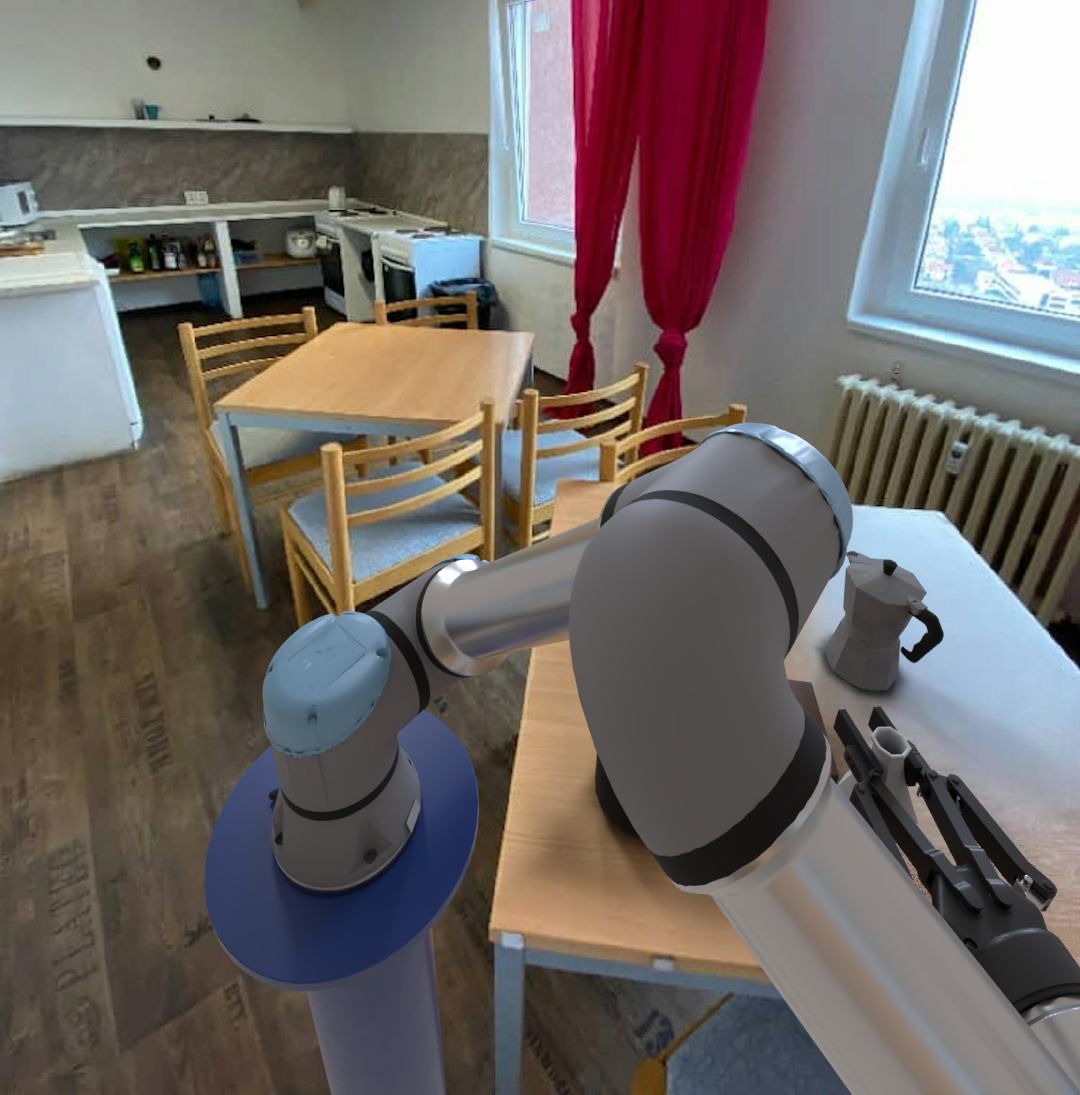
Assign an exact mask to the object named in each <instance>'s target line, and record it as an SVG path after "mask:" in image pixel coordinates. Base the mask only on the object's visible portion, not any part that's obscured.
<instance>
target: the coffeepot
mask: <svg viewBox="0 0 1080 1095" xmlns="http://www.w3.org/2000/svg"><path fill="white" fill-rule="evenodd" d="M845 557H847V558H848V559H847V560H848V564H849V565H848V566H847V567H846V568H845V574H844V588H843V590H844V591H843V602H842V609H843V611H844V616H843V617H842V618H841V620H840V621H839V623H838V625H837V627H836V628H835V630H834V632H833V634H832V636H831V638H830V639H829V641H828V642H827V644H826V646H825V648H824V650H823V651H824V653H825V657H826V659H827V662H828V664H829V666H830V668H831V669H832V671H833V672H834V673H835V674H836V675H837V676H838V677H839V678H841V679H842V680H844V681H845V682H847V683H848V684H850V685H851V686H854V687H856V688H858V689H861V690H865V691H871V692H881V691H888V690H889V689H890V687H891V686H892V685H893V683H894V682H895V681H896V680H897V679H898V677H899V667H900V666H899V664H900V663H899V662H900V652H901V654H902V655H903V656H904V658H905V659H906V660H907V661H909V662H910V663H912V664H917V663H919V661H921V660H922V659H923V658H924V657H925V656H926V655H928V654H929V653H930V652H931V651H932V650H934V648H936V647H937V646H939V644H941V643H942V642H943V640H944V637H945V633H944V629H943V627H942V625H941V621H940V619H939V616H937V615H936V613H934V612H932V611H931V610H929V609H928V608H929V607H928V606H927V605H926V604H925V603H924V602H922V601H923V600H924V598H925V596H926V595H927V593H928V592H927V591H926V589H925V587H923V585H922V584H921V582H920V581H919V579H918V578H917V576H916V575H915V573H913V572H911V571H909V570H907V569H906V568H904V567H901V566H899V565H898V563H897V562H896V561H894V560H893V559H889V558H885V559H884V558H871V557H869V556H867V555H865V554H863V553H861V552H857V551H855V550H850V551H846V556H845ZM912 618H915V619H916V620H918V621H919V622H921V623H922V624H923V625H924V626H925V627H926V631H927V632H925V633H924V634H923V635H922V637H921V638H920V640H919V641H918V642H915V644H913V646H912V650H911V651H910V650H909V649H907V648H905V646H901V639H900V636H901V635H902V634H903V633H904V631H905V629H906V628H907V627H908V625H909V623H910V621H911V620H912Z"/></svg>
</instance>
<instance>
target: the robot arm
mask: <svg viewBox="0 0 1080 1095" xmlns="http://www.w3.org/2000/svg"><path fill="white" fill-rule="evenodd" d="M599 513H600V514H599V516H598V517H596V518H593V519H591V520H588V521H586V522H584V523H582V524H579V525H577V526H574V527H572V528H570V529H567V530H565V531H562V532H560V533H557V534H555V535H553V536H551V537H547V538H545V539H543V540H541V541H539V542H536V543H534V544H531V545H528V546H526V547H524V548H522V549H519V550H517V551H515V552H512V553H509V554H507V555H505V556H502V557H500V558H498V559H495V560H493V561H491V562H490V561H488V560H486V559H483V560H481V558H480V557H479V556H478V555H475V554H470V553H459V554H456V555H452V556H451V557H449V558H445V559H442V560H440V561H438V562H437V563H435V564H434V565H433V566H431V567H430V568H429V569H428V570H427V571H426V572H425V573H423V574H422V575H419V576H418V577H417V578H416V579H414V580H412V581H411V582H410V583H408V584H406V585H405V586H404V587H403V588H401V589H399V590H398V591H396V592H395V593H394V594H392V595H391V596H389V597H387V598H386V599H384V600H383V601H381V602H380V603H378V604H377V605H376V606H374V607H373V608H371V609H369V610H368V611H367V612H365V613H363V612H359V611H351V610H347V611H342V612H341V613H340V614H339V616H335V615H334V613H328V614H325V615H321V616H320V617H318V618H316V619H313V620H311V621H309V622H308V623H306V624H304V625H303V626H301V627H300V628H298V629H297V630H296V631H294V633H293V634H291V635H290V636H289V637H288V638H286V640H285V641H284V642H283V644H282V645H280V647H279V648H278V649H277V651H276V652H275V653H274V655H273V657H272V659H271V660H270V662H269V665H268V667H267V669H266V672H265V677H264V680H263V683H262V684H263V685H262V703H263V716H262V718H263V719H262V720H263V727H264V732H265V734H266V737H267V738H268V741H269V742H270V746H271V747H272V752H273V756H274V761H275V765H276V770H277V774H278V779H279V783H280V788H278V789H275V790H273V791H271V792H270V793H269V798H270V799H271V800H273V799H276V798H277V799H276V803H275V807H274V811H273V815H272V824H271V843H272V848H273V852H274V857H275V860H276V863H277V866H278V868H279V870H280V872H281V874H282V875H283V877H284V878H285V879H286V880H287V881H288V882H289V883H290V884H291V885H292V886H293V887H294V888H296V889H298V890H299V891H301V892H304V893H306V894H309V895H312V896H318V897H337V896H342V895H347V894H350V893H353V892H356V891H358V890H361V889H363V888H364V887H366V886H368V885H370V884H372V883H373V882H375V881H376V880H378V879H379V878H380V877H382V876H383V875H384V874H385V873H386V872H387V871H389V870H390V869H391V868H392V867H393V865H394V864H395V863H396V862H397V861H398V860H399V858H400V857H401V856H402V855H403V853H404V852H405V850H406V849H407V847H408V845H409V843H410V842H411V840H412V837H413V835H414V833H415V830H416V828H417V824H418V821H419V816H420V809H421V794H420V783H419V778H418V775H417V772H416V769H415V767H414V764H413V762H412V761H411V759H410V757H409V756H408V755H407V753H406V752H405V751H404V750H403V749H402V748H401V747H400V745H399V742H398V735H397V734H398V732H399V731H400V730H401V729H403V728H404V727H405V726H406V725H407V724H408V723H410V722H411V721H412V720H413V719H414V718H415V717H416V716H417V715H418V714H420V713H421V712H422V711H423V710H424V711H425V710H426V709H427V708H428V706H430V705H431V704H433V702H434V701H436V699H437V698H439V697H440V696H441V695H442V694H444V693H445V692H446V691H447V690H448V689H449V688H450V687H451V686H453V685H454V684H456V683H457V682H458V681H461V680H463V679H468V678H475V677H479V676H483V675H487V674H488V673H490V672H493V671H494V670H496V669H497V668H499V667H500V666H501V665H502V664H503V662H505V661H506V659H507V658H508V657H509V655H510V653H515V652H519V651H524V650H529V649H534V648H537V647H542V646H547V645H551V644H557V643H562V642H567V641H569V650H570V658H571V664H572V670H573V675H574V681H575V685H576V689H577V694H578V699H579V702H580V706H581V709H582V712H583V715H584V718H585V721H586V722H585V723H586V725H587V727H588V728H587V729H588V731H589V734H590V737H591V740H592V743H593V746H594V750H595V751H596V755H597V754H598V756H599V758H600V761H601V763H602V765H603V767H604V770H605V772H606V774H607V777H608V779H609V781H610V784H611V786H612V788H613V790H614V793H615V795H616V797H617V798H618V800H619V802H620V804H621V806H622V807H623V809H624V811H625V813H626V815H627V816H628V818H629V820H630V822H631V823H632V825H633V827H634V829H635V830H636V832H637V833H638V835H639V836H640V838H641V839H640V840H641V841H642V842H643V843H644V846H646V848H647V849H648V851H649V852H650V853H651V855H652V857H653V858H654V860H656V862H657V863H658V865H659V867H660V868H661V870H662V871H663V872H664V874H665V875H666V877H667V878H668V879H669V880H670V881H671V883H672V885H674V887H676V888H677V889H679V890H681V891H683V892H685V893H689V894H695V895H709V896H710V897H711V899H712V900H713V901H714V903H715V904H716V906H717V907H718V908H719V910H720V911H721V912H722V914H723V916H724V917H725V918H726V920H727V921H728V922H729V924H730V926H731V927H732V928H733V930H734V931H735V932H736V934H737V935H738V937H739V938H740V940H742V942H743V943H744V945H745V946H746V948H747V949H748V951H750V954H751V955H752V956H753V958H754V959H755V960H756V962H757V963H758V965H759V966H760V967H761V969H762V970H763V972H764V974H766V976H767V977H768V978H769V980H770V982H771V983H772V984H773V986H774V988H775V989H776V990H777V991H778V992H779V994H780V995H781V997H782V998H783V1000H784V1001H785V1003H786V1005H788V1007H789V1008H790V1010H791V1012H793V1014H794V1015H795V1017H796V1018H797V1020H798V1021H799V1023H800V1024H801V1025H802V1026H803V1028H804V1029H805V1031H806V1032H807V1034H808V1035H809V1037H810V1038H811V1039H812V1041H813V1042H814V1044H815V1045H816V1046H817V1047H818V1049H819V1051H820V1052H821V1053H822V1055H823V1056H824V1057H825V1059H826V1061H827V1062H828V1063H829V1064H830V1065H831V1067H832V1069H833V1071H834V1072H835V1073H836V1075H837V1076H838V1078H840V1080H841V1082H842V1083H843V1084H844V1086H845V1087H846V1088H847V1090H848V1091H849V1092H850V1094H851V1095H1080V965H1079V964H1078V961H1076V959H1075V958H1074V957H1073V955H1072V954H1071V952H1069V950H1068V948H1067V947H1066V946H1065V944H1064V943H1063V941H1062V940H1061V939H1060V937H1058V935H1056V934H1055V933H1053V932H1052V931H1050V930H1049V929H1048V927H1047V924H1046V921H1045V917H1044V915H1043V914H1042V912H1046V911H1047V910H1048V909H1049V907H1050V905H1051V903H1052V902H1053V900H1054V899H1055V897H1056V896H1057V894H1058V887H1057V886H1056V884H1055V883H1054V882H1053V881H1052V880H1051V879H1050V878H1048V877H1047V876H1046V875H1045V874H1044V873H1043V872H1041V871H1040V870H1039V869H1038V868H1037V867H1036V866H1035V865H1033V864H1032V863H1031V862H1030V861H1029V860H1028V859H1027V858H1026V857H1025V855H1024V854H1023V853H1022V851H1020V850H1019V848H1018V847H1017V846H1016V844H1015V843H1014V842H1013V841H1012V840H1011V838H1010V837H1009V836H1008V835H1007V833H1006V832H1005V831H1004V829H1002V827H1001V826H1000V825H999V824H998V823H997V821H996V820H995V819H994V818H993V816H992V815H991V814H990V813H989V812H988V810H987V809H986V808H985V807H984V805H983V804H982V803H981V802H980V800H979V799H978V798H977V796H975V794H974V793H973V792H972V791H971V789H970V788H969V787H968V786H967V784H966V783H965V782H964V780H962V778H961V777H960V776H958V775H956V774H954V773H949V774H948V776H947V775H942V774H939V773H938V772H937V771H936V770H935V769H932V768H931V767H930V765H929V764H928V763H927V761H926V760H925V758H924V757H923V755H922V754H921V752H920V751H919V750H918V749H917V746H916V745H915V744H914V743H913V742H912V741H911V740H909V739H906V740H907V742H908V743H909V745H910V747H911V748H912V749H911V751H910V752H909V754H908V755H907V757H906V758H905V760H904V775H905V783H906V784H907V787H908V788H909V787H910V788H911V787H916V786H917V785H918V788H917V790H916V797H920V798H921V797H922V799H923V801H924V803H925V805H926V807H927V809H928V811H929V813H930V815H931V817H932V819H933V821H934V822H935V826H936V827H937V829H938V831H939V833H940V835H941V837H942V839H943V841H944V843H945V845H946V846H947V849H948V851H949V853H950V854H951V856H952V858H953V860H954V863H955V865H954V864H953V863H952V862H951V861H950V860H949V858H948V857H947V856H946V854H944V852H943V851H942V850H939V849H937V848H936V847H935V846H934V845H933V844H932V842H931V841H930V840H929V838H928V837H927V836H926V835H925V833H923V831H922V829H921V828H920V827H919V826H918V825H917V824H916V823H915V822H914V821H913V820H912V818H911V817H910V816H909V814H908V813H907V812H906V811H905V809H904V808H903V807H902V805H901V804H900V803H899V802H898V800H897V799H896V798H895V796H894V795H893V794H892V793H891V791H890V790H889V789H888V788H887V786H886V785H885V784H884V782H883V781H882V780H881V778H882V776H883V773H884V770H883V768H882V766H881V765H880V763H879V762H878V760H877V758H876V757H875V755H874V754H873V752H872V750H871V747H870V746H869V744H868V743H867V741H866V739H865V737H864V736H863V734H862V733H861V731H860V730H859V729H858V727H857V725H856V724H855V721H853V719H852V717H851V715H850V714H849V713H848V710H847V709H846V708H839V709H838V710H837V713H836V717H835V719H834V722H833V726H832V728H833V731H834V732H835V733H836V736H837V737H838V739H839V740H840V742H841V744H842V746H843V747H844V750H845V751H844V753H843V758H844V761H845V764H846V765H847V767H848V769H849V770H851V772H852V774H853V775H854V777H855V779H856V781H857V782H858V783H855V784H854V787H853V790H852V793H851V796H850V799H848V798H847V797H846V796H845V794H844V793H843V792H842V791H841V789H840V788H839V787H838V786H837V785H838V783H837V784H836V783H835V782H834V781H833V779H832V778H831V750H832V747H831V748H830V746H831V743H830V741H829V742H828V740H829V739H828V740H827V738H826V736H825V735H824V734H823V733H822V731H821V730H820V729H819V727H818V726H817V725H816V724H815V723H814V721H813V720H812V719H811V718H810V716H809V715H808V714H807V713H806V712H805V710H804V709H803V708H802V707H801V705H800V704H799V703H798V701H797V700H796V698H795V696H794V694H793V692H792V690H791V688H790V686H789V682H788V679H789V678H788V676H787V672H786V666H785V665H786V664H785V660H786V658H787V656H788V655H789V653H790V652H791V651H792V648H793V646H794V645H795V643H796V641H797V639H798V638H799V636H800V634H801V632H802V630H803V628H804V627H805V625H806V623H807V621H808V619H809V617H810V616H811V614H812V612H813V610H814V608H815V606H816V604H817V603H818V602H819V600H820V597H821V595H822V594H823V593H824V590H825V588H826V587H827V585H828V583H829V581H830V580H832V579H833V578H835V576H836V575H838V573H839V572H840V571H841V568H842V567H843V565H844V563H845V561H846V557H847V556H846V552H848V551H847V550H848V546H849V543H850V540H851V538H852V537H851V536H852V533H853V526H854V513H853V506H852V503H851V499H850V495H849V493H848V489H847V488H846V486H845V484H844V482H843V480H842V478H841V476H840V474H839V473H838V472H837V470H836V469H835V467H834V466H833V465H832V464H831V462H830V461H829V460H828V459H827V458H826V456H824V454H822V453H821V452H820V451H819V450H818V449H817V448H815V446H813V445H812V444H811V443H809V442H808V441H806V440H805V439H803V438H802V437H800V436H798V435H797V434H793V433H791V432H789V431H786V430H784V429H781V428H779V427H778V426H776V425H772V424H767V423H762V422H741V423H735V424H732V425H729V426H727V427H724V428H722V429H718V430H715V431H713V432H711V433H710V434H708V435H706V436H705V437H704V438H703V439H702V440H701V442H700V443H699V444H698V446H697V447H696V448H694V449H693V450H692V451H690V452H688V453H686V454H685V455H683V456H681V457H680V458H678V459H676V460H673V461H671V462H670V463H667V464H665V465H663V466H660V467H659V468H656V469H654V470H652V471H650V472H648V473H646V474H643V475H641V476H639V477H637V478H635V479H633V480H630V481H628V482H626V483H624V484H622V485H620V486H619V487H617V488H615V490H613V492H611V493H610V494H609V496H608V497H607V499H606V500H605V502H604V504H603V506H602V508H601V510H600V512H599ZM867 726H868V727H869V729H870V730H871V732H872V733H873V732H874V731H875V730H876V728H877V727H892V728H893V729H895V730H896V731H898V729H897V728H896V726H895V725H894V724H893V722H892V720H891V719H890V718H889V716H888V715H887V713H886V712H885V711H884V709H883V708H882V706H879V705H878V706H873V708H872V710H871V713H870V717H869V720H868V723H867ZM829 743H830V744H829ZM894 840H895V841H894ZM895 842H896V843H895ZM900 850H901V851H902V853H903V854H904V856H905V857H906V859H907V860H908V861H909V862H910V864H911V865H912V866H913V868H914V869H915V871H916V873H917V878H918V880H919V881H920V883H921V884H922V887H924V888H925V890H926V892H927V893H928V894H929V895H930V897H931V900H929V898H928V897H927V896H926V895H925V893H924V892H923V890H922V889H921V888H920V887H919V886H918V884H917V883H916V882H915V881H914V879H913V875H912V874H911V873H912V872H911V871H910V869H909V867H908V865H907V863H906V861H905V858H904V857H903V855H902V853H901V851H900ZM997 871H998V872H997ZM998 873H1000V875H1001V876H1002V877H1003V879H1004V880H1003V879H1002V878H1000V875H999V874H998Z"/></svg>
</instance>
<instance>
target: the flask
mask: <svg viewBox="0 0 1080 1095" xmlns="http://www.w3.org/2000/svg"><path fill="white" fill-rule="evenodd" d="M870 740H871V742H872V745H871V747H870V749H871V750H872V752H873V754H874V755H875V757H876V758H877V760H878V762H879V763H880V765H881V766H882V768H883V770H884V773H883V776H882V778H881V780H882V781H883V782H884V784H885V785H886V786H887V788H888V789H889V790H890V791H891V793H892V794H893V795H894V796H895V798H896V799H897V800H898V802H899V803H900V804H901V805H902V807H903V808H904V809H905V811H906V812H907V813H908V814H909V816H910V817H911V818H912V820H913V821H914V822H915V823H916V825H917V824H918V823H919V822H918V817H917V815H916V812H915V807H914V805H913V802H912V799H911V795H910V792H909V787H908V786H907V784H906V783H905V775H904V760H905V758H906V757H907V755H908V754H909V752H910V751H911V749H912V748H911V747H910V745H909V743H908V742H907V740H908V739H907V738H906V737H905V735H904V734H902V733H901V732H899V731H898V730H897V731H896V730H895V729H893V728H892V727H877V728H876V730H875V731H874V732H872V733H871V734H870ZM855 783H858V782H857V781H856V779H855V777H854V775H853V774H852V772H851V770H850V769H849V770H848V771H847V772H846V773H845V774H844V775H843V777H842V778H841V779H840V781H839V782H837V786H838V787H839V788H840V789H841V791H842V792H843V793H844V794H845V796H846V797H847V798H848V799H850V796H851V793H852V790H853V787H854V784H855ZM894 841H895V840H894ZM895 843H896V842H895ZM896 844H897V843H896Z"/></svg>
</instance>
